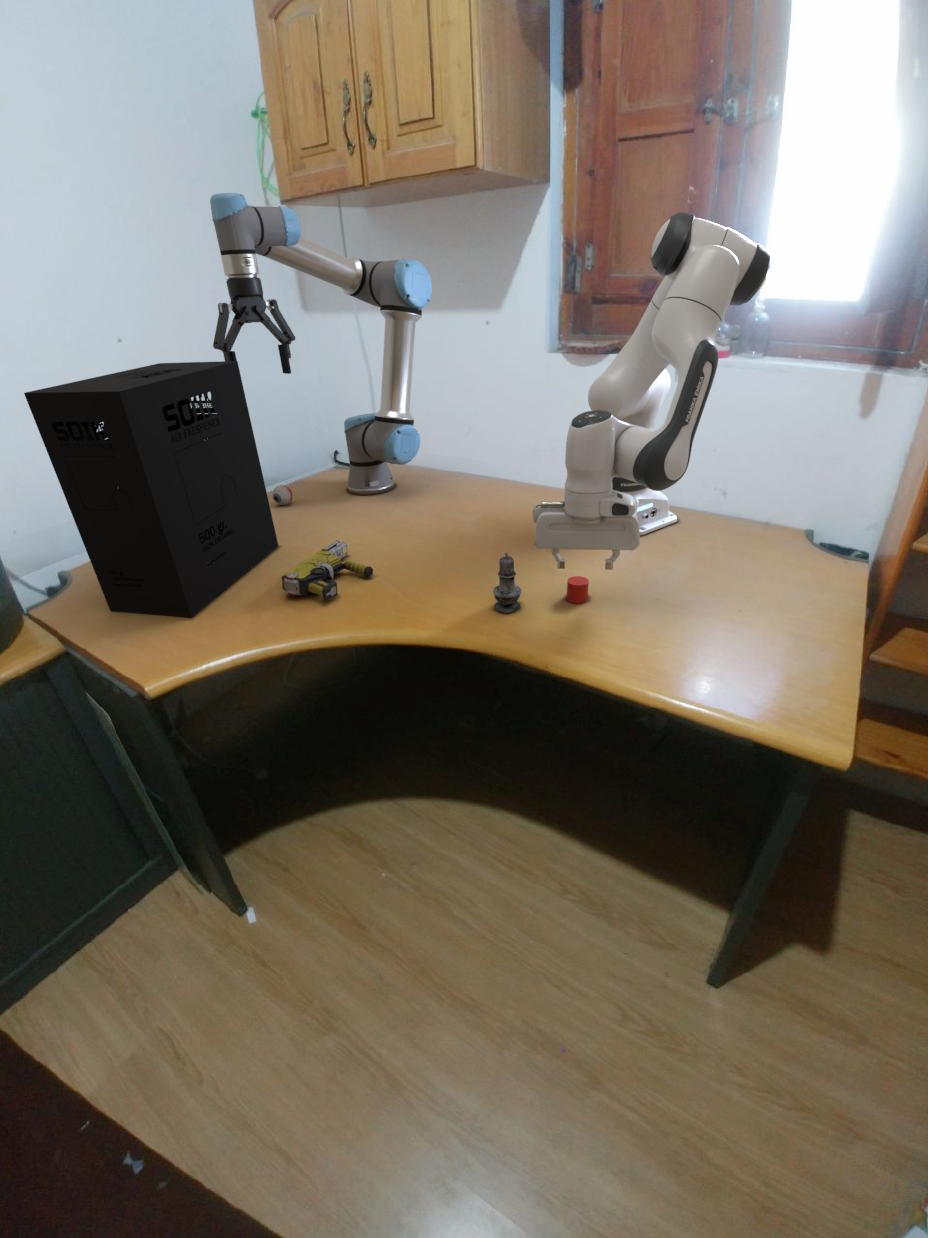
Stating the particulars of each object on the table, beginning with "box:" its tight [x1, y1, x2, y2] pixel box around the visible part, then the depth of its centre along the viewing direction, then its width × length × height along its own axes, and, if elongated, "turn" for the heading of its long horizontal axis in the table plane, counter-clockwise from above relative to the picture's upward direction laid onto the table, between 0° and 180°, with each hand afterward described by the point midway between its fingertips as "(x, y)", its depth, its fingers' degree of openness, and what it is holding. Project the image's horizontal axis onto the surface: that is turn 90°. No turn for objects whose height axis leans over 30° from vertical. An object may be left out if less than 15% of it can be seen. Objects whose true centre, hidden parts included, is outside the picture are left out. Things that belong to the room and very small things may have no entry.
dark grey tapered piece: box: [492, 552, 523, 613], centre depth 120 cm, size 6×6×12 cm
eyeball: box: [271, 484, 294, 506], centre depth 185 cm, size 6×6×6 cm
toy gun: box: [281, 539, 374, 603], centre depth 138 cm, size 5×24×15 cm
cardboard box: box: [23, 360, 279, 618], centre depth 133 cm, size 38×20×45 cm, turn 167°
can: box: [566, 575, 590, 604], centre depth 124 cm, size 4×4×4 cm
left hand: (262, 377), depth 147 cm, fingers open, 13 cm apart
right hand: (584, 568), depth 121 cm, fingers open, 8 cm apart
